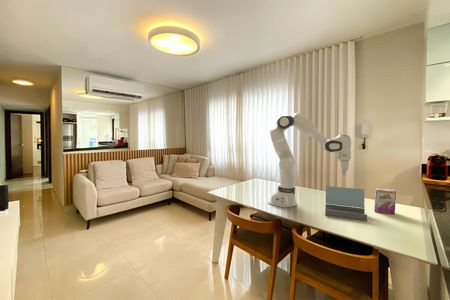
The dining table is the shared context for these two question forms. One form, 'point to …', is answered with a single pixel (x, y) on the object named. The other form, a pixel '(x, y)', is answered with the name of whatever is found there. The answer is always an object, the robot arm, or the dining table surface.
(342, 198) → the panel
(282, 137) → the robot arm
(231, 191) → the dining table surface
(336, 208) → the cable duct
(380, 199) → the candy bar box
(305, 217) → the dining table surface
